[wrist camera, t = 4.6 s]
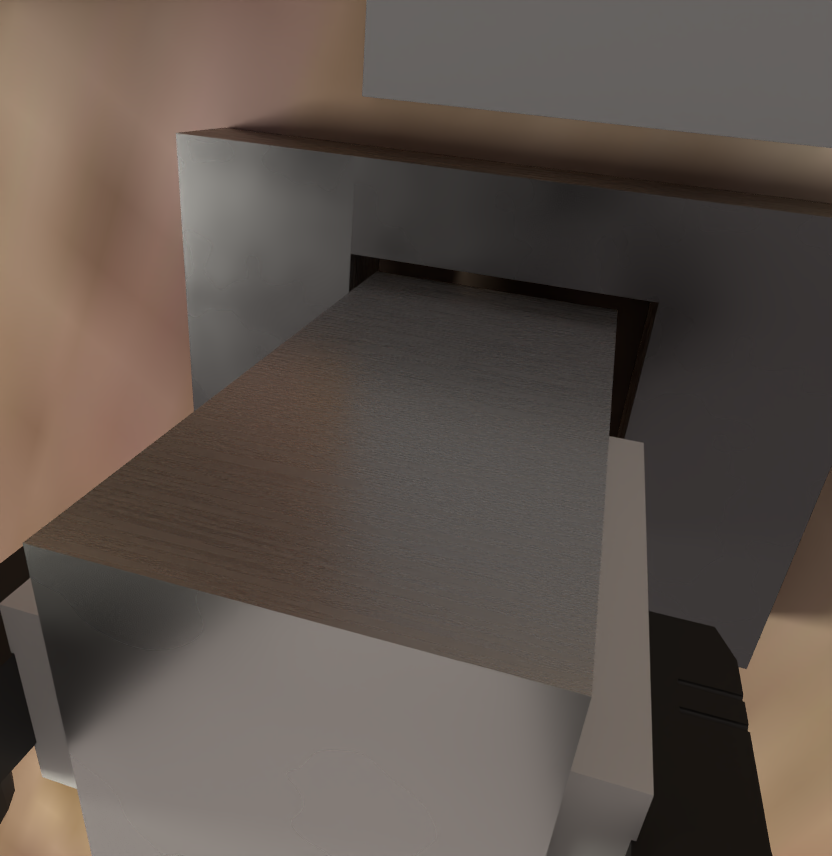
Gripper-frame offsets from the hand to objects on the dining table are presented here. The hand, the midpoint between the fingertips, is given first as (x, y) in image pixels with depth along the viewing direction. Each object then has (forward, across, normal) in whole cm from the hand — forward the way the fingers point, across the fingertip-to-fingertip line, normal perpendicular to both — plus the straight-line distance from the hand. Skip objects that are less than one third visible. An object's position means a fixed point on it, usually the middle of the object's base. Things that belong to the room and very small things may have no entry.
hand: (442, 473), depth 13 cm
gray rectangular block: (+3, 0, 0) cm, 3 cm away
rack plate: (+5, 0, 0) cm, 5 cm away
